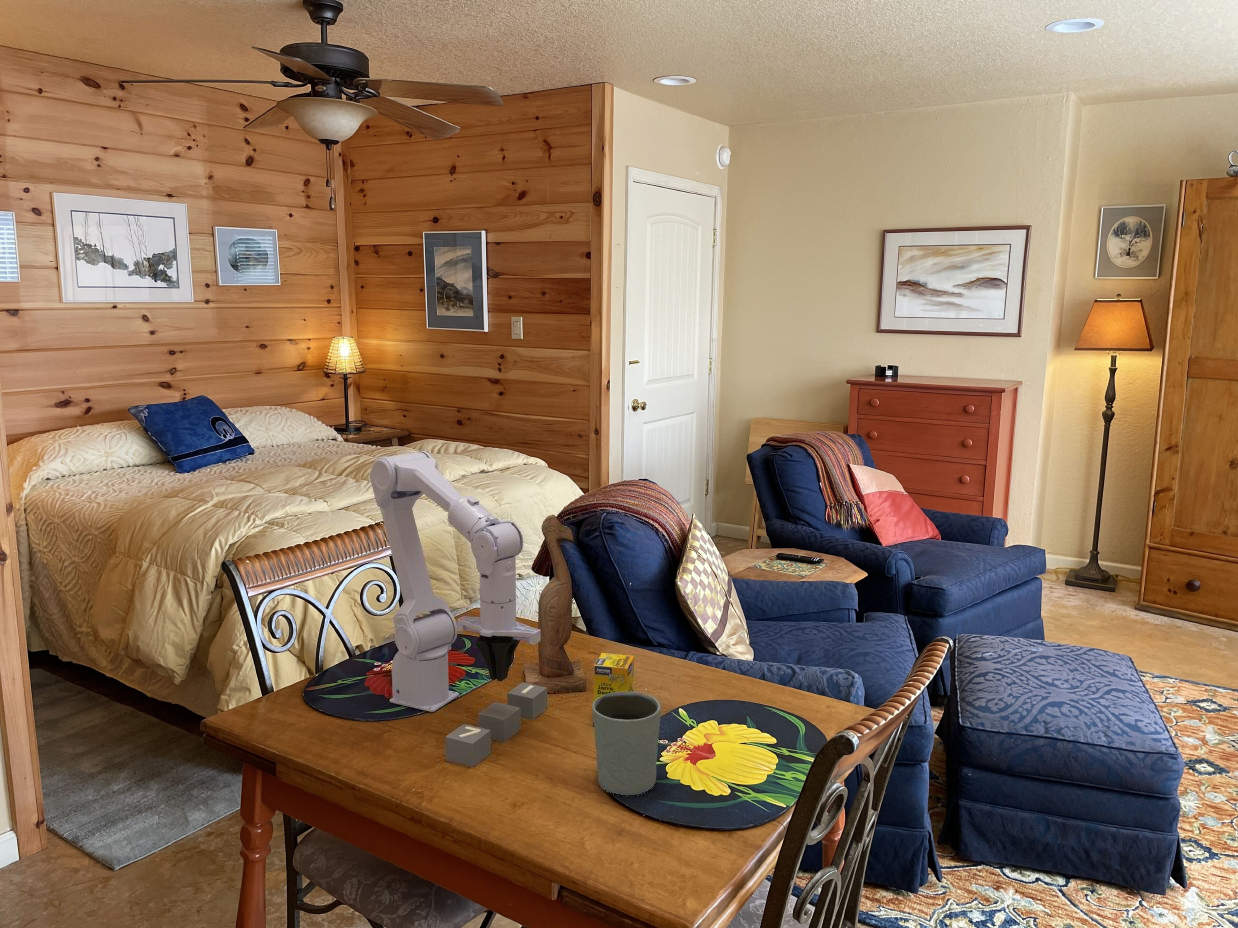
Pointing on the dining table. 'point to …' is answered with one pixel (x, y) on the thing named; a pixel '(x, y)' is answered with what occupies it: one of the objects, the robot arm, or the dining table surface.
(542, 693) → the block one
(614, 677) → the supplement box
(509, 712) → the plain block
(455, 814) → the dining table surface
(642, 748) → the grey cup
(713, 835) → the dining table surface
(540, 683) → the bird sculpture
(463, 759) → the block seven
